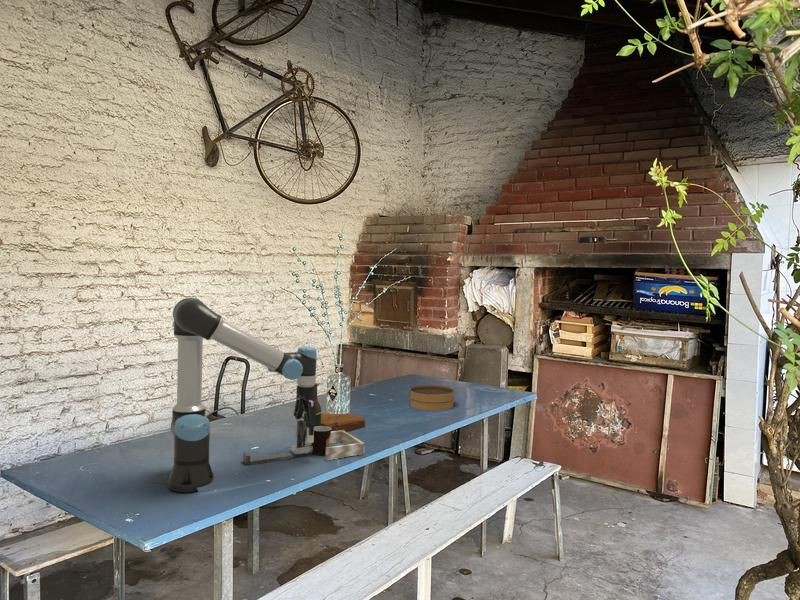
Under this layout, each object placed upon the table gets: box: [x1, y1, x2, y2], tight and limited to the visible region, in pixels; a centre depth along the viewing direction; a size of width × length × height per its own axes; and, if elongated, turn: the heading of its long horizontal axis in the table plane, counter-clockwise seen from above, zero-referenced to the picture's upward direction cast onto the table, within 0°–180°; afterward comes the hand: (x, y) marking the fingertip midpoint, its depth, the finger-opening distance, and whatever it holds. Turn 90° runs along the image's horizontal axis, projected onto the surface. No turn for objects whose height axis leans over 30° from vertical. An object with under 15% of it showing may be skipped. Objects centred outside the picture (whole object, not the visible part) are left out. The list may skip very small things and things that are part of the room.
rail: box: [242, 451, 293, 466], centre depth 225 cm, size 19×4×4 cm, turn 122°
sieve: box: [408, 384, 456, 411], centre depth 318 cm, size 25×25×11 cm
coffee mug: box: [311, 426, 331, 456], centre depth 237 cm, size 12×9×10 cm
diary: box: [302, 412, 366, 433], centre depth 273 cm, size 23×19×6 cm
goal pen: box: [306, 430, 366, 461], centre depth 240 cm, size 17×20×5 cm
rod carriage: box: [291, 420, 330, 455], centre depth 233 cm, size 13×10×12 cm
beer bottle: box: [303, 382, 322, 438], centre depth 259 cm, size 8×8×24 cm
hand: (304, 438), depth 231 cm, fingers open, 11 cm apart
